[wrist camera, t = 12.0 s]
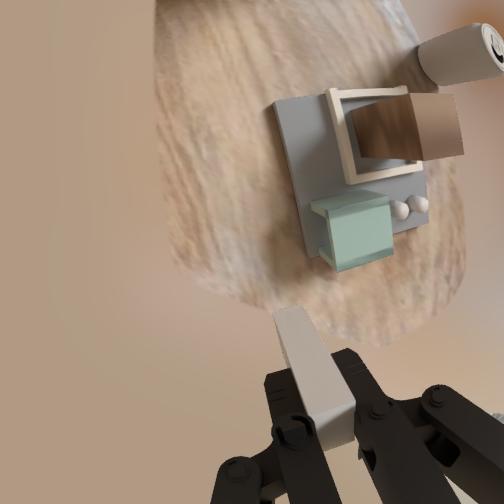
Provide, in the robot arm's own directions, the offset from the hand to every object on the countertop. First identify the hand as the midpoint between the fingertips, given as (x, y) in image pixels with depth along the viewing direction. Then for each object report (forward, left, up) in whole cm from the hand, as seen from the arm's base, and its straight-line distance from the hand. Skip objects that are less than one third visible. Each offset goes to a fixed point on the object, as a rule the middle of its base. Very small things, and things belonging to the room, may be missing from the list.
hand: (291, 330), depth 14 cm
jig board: (-5, +13, -16) cm, 21 cm away
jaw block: (-9, +15, -15) cm, 23 cm away
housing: (0, +9, -14) cm, 17 cm away
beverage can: (-17, +28, -16) cm, 37 cm away
